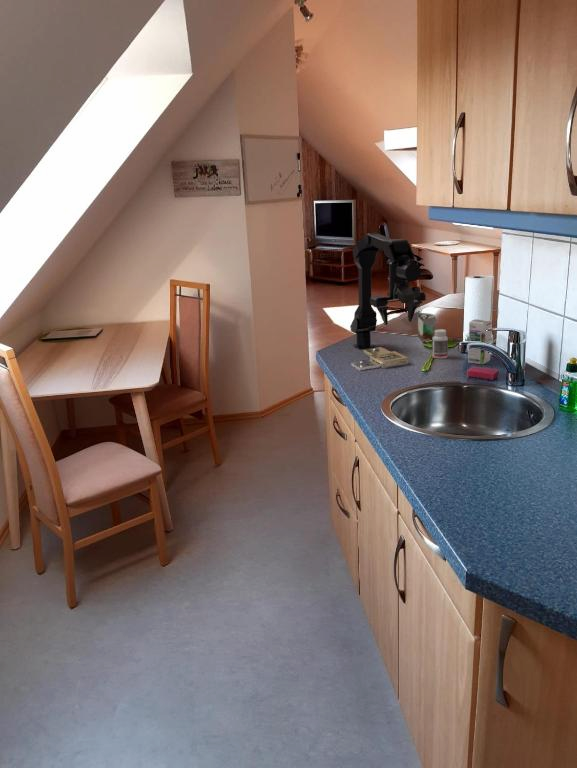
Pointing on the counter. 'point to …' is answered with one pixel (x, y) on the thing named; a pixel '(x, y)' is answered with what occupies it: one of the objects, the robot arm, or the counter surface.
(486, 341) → the syrup box
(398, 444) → the counter surface
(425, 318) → the food container
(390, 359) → the beige flat piece
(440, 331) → the pill bottle
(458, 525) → the counter surface
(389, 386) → the counter surface
